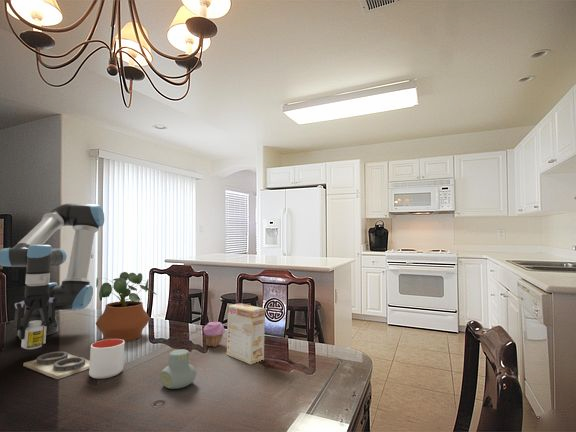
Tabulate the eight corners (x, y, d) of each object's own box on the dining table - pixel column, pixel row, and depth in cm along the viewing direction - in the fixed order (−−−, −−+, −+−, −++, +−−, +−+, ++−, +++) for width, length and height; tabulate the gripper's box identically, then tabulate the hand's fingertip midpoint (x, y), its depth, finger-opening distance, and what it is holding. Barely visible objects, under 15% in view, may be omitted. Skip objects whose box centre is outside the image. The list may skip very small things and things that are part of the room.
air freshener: (156, 384, 100) (158, 351, 101) (180, 376, 107) (181, 345, 108) (175, 395, 93) (176, 359, 94) (199, 385, 100) (200, 352, 101)
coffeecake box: (264, 360, 122) (265, 308, 124) (250, 365, 117) (251, 310, 118) (240, 350, 132) (241, 302, 134) (225, 354, 127) (227, 304, 129)
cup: (129, 370, 111) (131, 340, 111) (104, 382, 101) (106, 349, 102) (107, 366, 114) (109, 337, 115) (81, 377, 104) (83, 345, 105)
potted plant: (81, 341, 140) (85, 272, 143) (130, 326, 167) (133, 268, 169) (122, 347, 133) (126, 275, 136) (167, 330, 160) (169, 269, 163)
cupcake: (198, 346, 136) (199, 322, 137) (211, 341, 144) (211, 318, 145) (216, 349, 133) (217, 325, 133) (228, 343, 141) (228, 320, 142)
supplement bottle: (32, 350, 120) (33, 323, 121) (20, 349, 121) (22, 322, 122) (45, 345, 126) (47, 320, 126) (34, 344, 127) (36, 319, 127)
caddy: (63, 354, 124) (63, 348, 124) (97, 365, 114) (97, 358, 114) (23, 365, 113) (23, 358, 113) (57, 379, 102) (57, 371, 103)
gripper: (13, 288, 115) (8, 354, 114) (68, 282, 131) (64, 340, 130) (3, 286, 119) (-2, 350, 117) (58, 280, 135) (54, 337, 133)
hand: (33, 344), depth 124 cm, fingers closed on supplement bottle, 5 cm apart
